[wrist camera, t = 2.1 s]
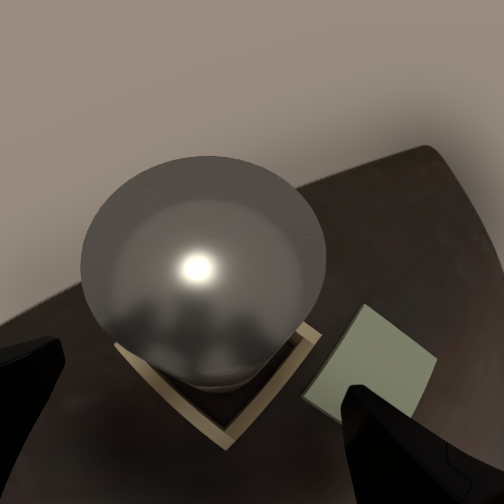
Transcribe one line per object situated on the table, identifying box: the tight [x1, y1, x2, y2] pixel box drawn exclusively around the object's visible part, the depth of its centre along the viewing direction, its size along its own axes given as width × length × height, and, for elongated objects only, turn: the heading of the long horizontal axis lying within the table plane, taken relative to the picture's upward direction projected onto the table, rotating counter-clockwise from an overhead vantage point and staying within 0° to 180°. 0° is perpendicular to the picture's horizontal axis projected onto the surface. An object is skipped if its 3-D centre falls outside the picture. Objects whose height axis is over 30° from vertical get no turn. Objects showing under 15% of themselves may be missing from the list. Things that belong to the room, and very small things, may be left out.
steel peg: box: [81, 156, 326, 394], centre depth 11 cm, size 6×6×13 cm
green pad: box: [300, 304, 437, 425], centre depth 16 cm, size 8×8×1 cm
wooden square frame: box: [114, 321, 321, 450], centre depth 16 cm, size 9×9×2 cm
